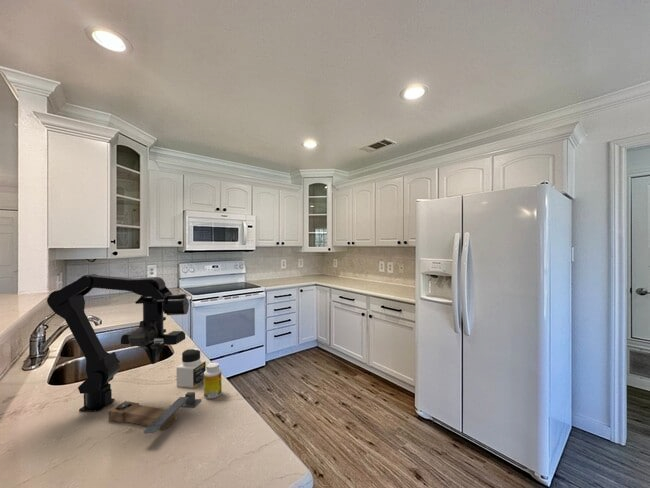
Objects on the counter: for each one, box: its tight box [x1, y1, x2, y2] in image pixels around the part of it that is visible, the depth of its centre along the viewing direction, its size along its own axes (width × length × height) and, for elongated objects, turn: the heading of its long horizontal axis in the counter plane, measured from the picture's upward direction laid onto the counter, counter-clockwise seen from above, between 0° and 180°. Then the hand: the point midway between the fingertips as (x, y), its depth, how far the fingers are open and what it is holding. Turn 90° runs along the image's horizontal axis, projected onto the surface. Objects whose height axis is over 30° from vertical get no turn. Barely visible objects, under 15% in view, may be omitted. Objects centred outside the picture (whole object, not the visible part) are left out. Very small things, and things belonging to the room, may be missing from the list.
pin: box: [118, 402, 129, 411], centre depth 83 cm, size 3×3×4 cm
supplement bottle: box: [203, 362, 223, 400], centre depth 95 cm, size 6×6×10 cm
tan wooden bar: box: [107, 400, 177, 430], centre depth 81 cm, size 20×5×3 cm, turn 75°
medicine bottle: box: [176, 347, 207, 389], centre depth 103 cm, size 7×7×12 cm
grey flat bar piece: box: [143, 391, 202, 434], centre depth 81 cm, size 5×21×4 cm, turn 176°
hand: (153, 363), depth 92 cm, fingers closed
